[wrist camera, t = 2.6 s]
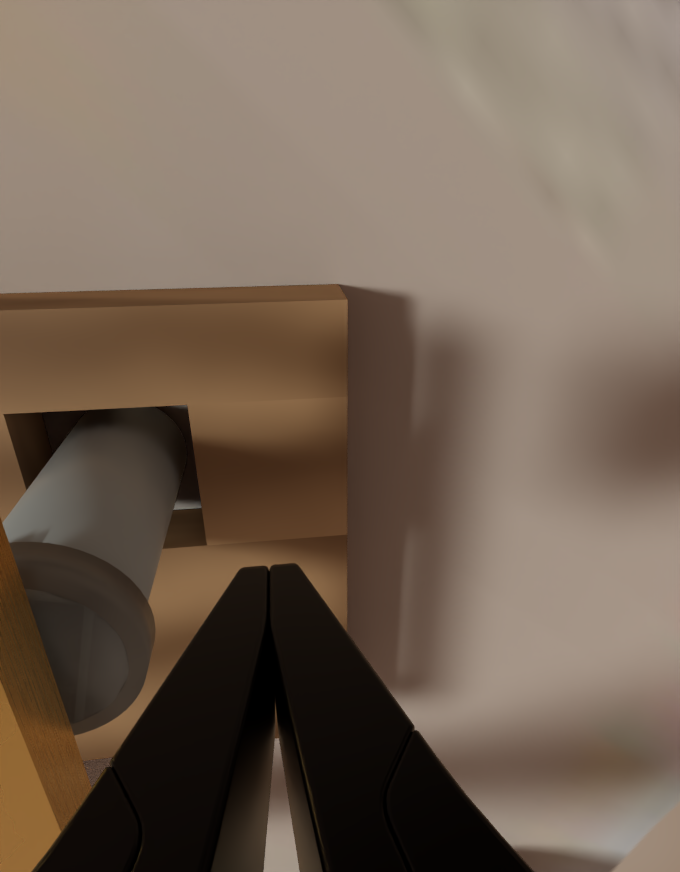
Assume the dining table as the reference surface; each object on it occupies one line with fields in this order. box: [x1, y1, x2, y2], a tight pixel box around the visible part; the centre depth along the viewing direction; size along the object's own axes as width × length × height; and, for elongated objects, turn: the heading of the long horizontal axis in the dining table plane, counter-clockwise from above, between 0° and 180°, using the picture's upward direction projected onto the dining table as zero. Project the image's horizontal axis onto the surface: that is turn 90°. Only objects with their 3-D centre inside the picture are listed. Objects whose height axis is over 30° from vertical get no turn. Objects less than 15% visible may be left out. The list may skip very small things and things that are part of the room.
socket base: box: [0, 284, 348, 761], centre depth 21 cm, size 20×16×2 cm
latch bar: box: [0, 518, 92, 872], centre depth 15 cm, size 19×2×9 cm, turn 0°
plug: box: [2, 407, 187, 736], centre depth 16 cm, size 5×5×10 cm
